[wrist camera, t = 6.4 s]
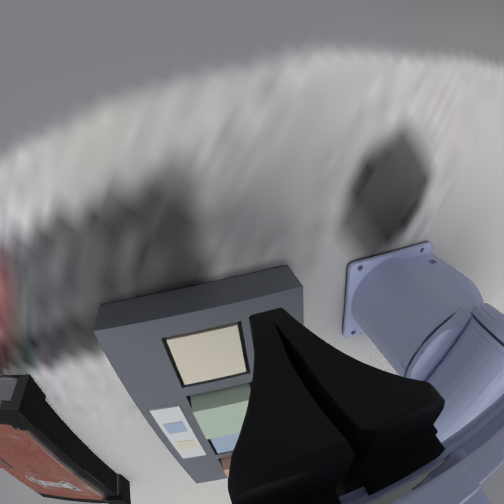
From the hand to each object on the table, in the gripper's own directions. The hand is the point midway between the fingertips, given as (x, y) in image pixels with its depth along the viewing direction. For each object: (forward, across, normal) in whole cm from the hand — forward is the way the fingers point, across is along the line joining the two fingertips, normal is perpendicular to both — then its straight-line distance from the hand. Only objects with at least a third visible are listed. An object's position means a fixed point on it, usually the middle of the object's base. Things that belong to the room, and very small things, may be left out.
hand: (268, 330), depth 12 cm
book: (+10, +30, +22) cm, 39 cm away
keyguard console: (+9, +3, +17) cm, 20 cm away
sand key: (+9, +3, +7) cm, 12 cm away
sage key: (+7, +3, +14) cm, 16 cm away
